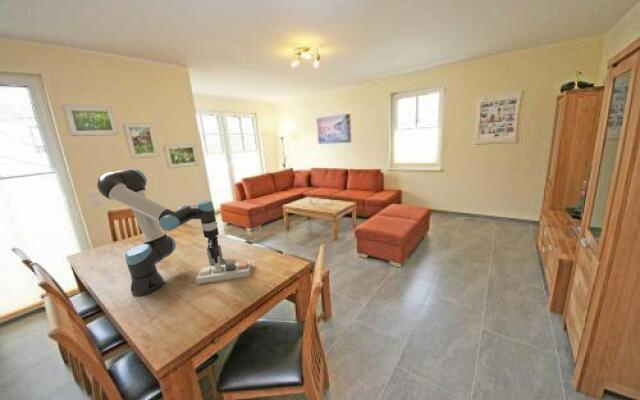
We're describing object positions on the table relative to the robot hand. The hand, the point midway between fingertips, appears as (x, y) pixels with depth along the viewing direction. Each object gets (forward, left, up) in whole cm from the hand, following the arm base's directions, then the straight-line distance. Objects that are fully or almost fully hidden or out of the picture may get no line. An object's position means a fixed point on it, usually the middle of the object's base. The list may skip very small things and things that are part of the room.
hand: (218, 267), depth 143 cm
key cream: (-7, 0, -4) cm, 8 cm away
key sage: (0, 0, -4) cm, 4 cm away
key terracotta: (+14, 0, -4) cm, 15 cm away
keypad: (+3, 0, -6) cm, 6 cm away
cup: (-6, +18, -6) cm, 20 cm away
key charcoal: (+7, 0, -3) cm, 7 cm away
